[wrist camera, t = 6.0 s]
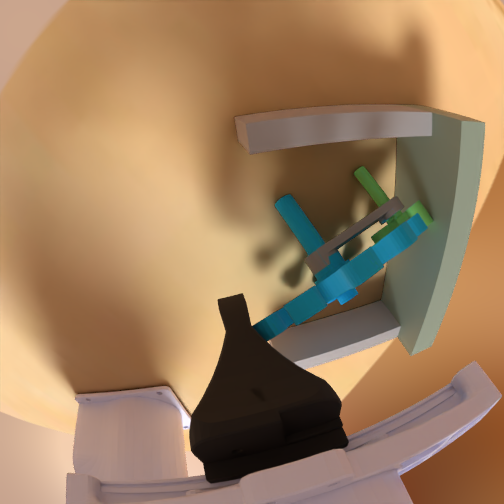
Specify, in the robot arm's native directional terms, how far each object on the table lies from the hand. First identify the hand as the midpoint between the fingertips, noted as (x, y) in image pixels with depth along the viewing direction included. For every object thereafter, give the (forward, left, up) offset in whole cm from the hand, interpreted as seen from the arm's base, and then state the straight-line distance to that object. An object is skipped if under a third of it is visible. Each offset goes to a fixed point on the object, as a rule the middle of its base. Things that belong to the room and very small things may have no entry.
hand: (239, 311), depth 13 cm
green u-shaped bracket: (+7, 0, -4) cm, 8 cm away
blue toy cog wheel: (+5, +1, -4) cm, 7 cm away
